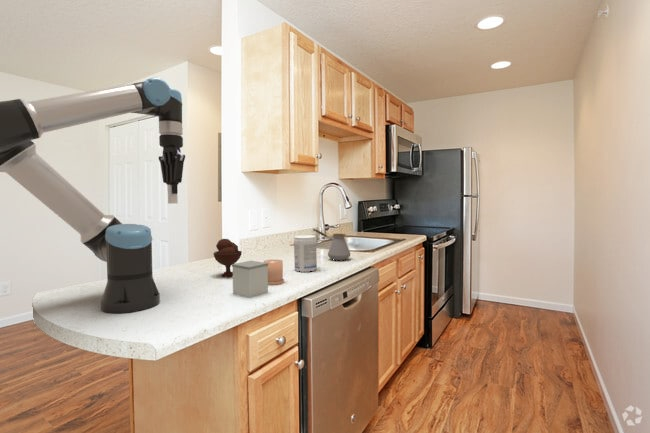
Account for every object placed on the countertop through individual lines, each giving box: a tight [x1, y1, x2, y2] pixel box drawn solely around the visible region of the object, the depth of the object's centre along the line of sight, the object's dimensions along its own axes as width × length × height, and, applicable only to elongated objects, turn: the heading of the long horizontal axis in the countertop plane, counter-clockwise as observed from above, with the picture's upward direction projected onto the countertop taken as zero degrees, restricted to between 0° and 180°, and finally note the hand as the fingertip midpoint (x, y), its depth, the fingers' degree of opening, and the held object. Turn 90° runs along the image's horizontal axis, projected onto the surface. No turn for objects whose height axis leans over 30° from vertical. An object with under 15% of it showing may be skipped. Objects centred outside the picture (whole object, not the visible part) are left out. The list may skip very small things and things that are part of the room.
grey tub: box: [231, 260, 269, 298], centre depth 118 cm, size 8×8×10 cm
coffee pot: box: [312, 228, 351, 261], centre depth 181 cm, size 21×12×15 cm, turn 61°
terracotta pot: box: [263, 259, 285, 286], centre depth 132 cm, size 8×8×8 cm
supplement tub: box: [293, 234, 318, 273], centre depth 153 cm, size 10×10×15 cm
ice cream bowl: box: [213, 238, 243, 278], centre depth 143 cm, size 11×11×15 cm
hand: (172, 203), depth 125 cm, fingers closed
